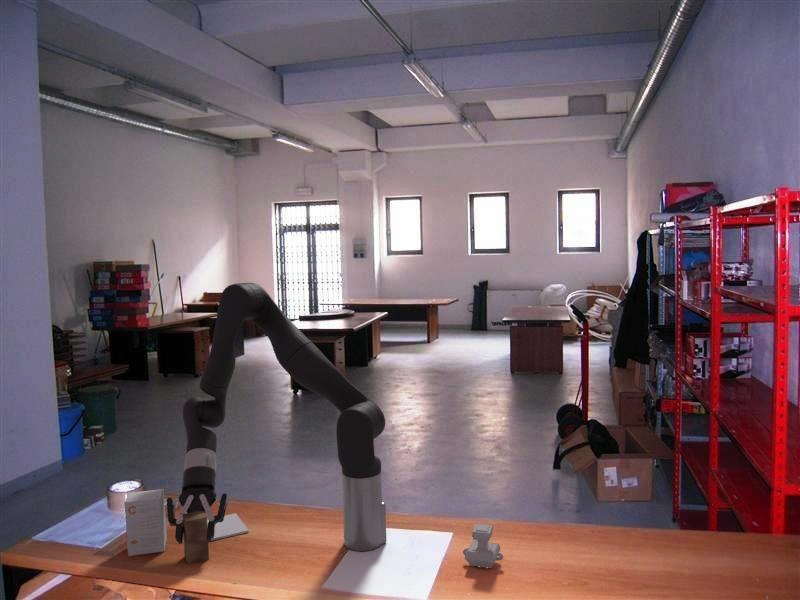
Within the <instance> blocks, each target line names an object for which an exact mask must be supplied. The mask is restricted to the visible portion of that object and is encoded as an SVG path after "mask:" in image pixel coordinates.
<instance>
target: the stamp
mask: <svg viewBox="0 0 800 600" xmlns="http://www.w3.org/2000/svg"><path fill="white" fill-rule="evenodd" d="M493 526H494V525H492V524H482V523H479V524H478V523H475V524H474V526H473V529H472V532H471V533H472V534H471V537H472V539H473V540H472V541H471V543H470V545H469V547H468V548H467V547H466V548H464V549H463V550H462V554H463V556H464V560H465V561H466V562H467V563H468V564H469V565H470V566H471V565H472V566H471V567H474V566H480V567H479V568H481V567H488V568H491V569H492V567H493V566H494V565H495V563H496V562H497V561H502V560H504V555H503V554H502V553H501V552H500V551H501V546H500V543H496V542H489V541H490V539H491V537H492V535H493V531H494V529H493V528H494V527H493ZM488 568H487V569H488Z"/></svg>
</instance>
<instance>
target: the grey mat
mask: <svg viewBox="0 0 800 600" xmlns="http://www.w3.org/2000/svg"><path fill="white" fill-rule="evenodd" d="M208 522H209V520H208V518H207V527H208ZM246 533H249V529H248V527H247V526H246V525H245V523H244V522H243V520H241V518H240V517H239V516H238V514H237V513H236V512H235V513H232V514H231V513H229V514H227V515H225V516H224V520H223V522H218V523H216V524H215V533H214V538H212V539H211V541H208V543H209V542H212V541H216V540H220V539H225V538H226V539H227V538H230V537H234V536H237V535H242V534H246Z"/></svg>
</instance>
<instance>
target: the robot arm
mask: <svg viewBox="0 0 800 600" xmlns="http://www.w3.org/2000/svg"><path fill="white" fill-rule="evenodd" d="M247 320H250V321H252V322H253V323H254V324H255V325H256V326H257V327H258V328H259V329H260V330H261V331H262V332H263V333H264V334H265V336H266V337H267V338H268V339H269V341H270V344H271V347H272V350H273V353H274V356H275V358H276V360H277V362H278V364H280V366H281V367H282V368H283V370H284V371H285V372H287V374H288V375H289V376H290V377H291V378H292V379H293V380H294V381H295V382H296V383H298V384H299V385H300V386H301V387H303V388H305V389H306V390H308V391H310V392H312V393H314V394H316V395H318V396H320V397H321V398H324V399H325V400H326V401H328V402H329V403H331V404H332V405H333V406H334V407H335V408H336V409H337V410H338V411H339V413H340V414H339V416H338V418H337V422H336V428H335V429H336V430H335V431H336V445H337V447H336V448H337V457H338V462H339V464H340V466H341V476H342V477H341V478H342V479H341V480H342V506H343V507H342V509H343V511H342V513H343V519H342V520H343V542H344V546H345V548H347V549H349V550H352V551H357V552H359V551H360V552H365V551H372V550H375V549H377V548H380V547H381V546H382V545H383V544H386V543H387V512H386V511H387V509H386V503H385V502H384V501H383V490H382V487H383V485H382V484H383V483H382V461H381V458H379V457H378V456H376V455H375V443H374V440H375V439H376V438H378V437H379V436H380V435H382V434H383V431H384V430H385V428H386V417H385V414H384V412H383V411H382V409H381V408H380V406H379V405H377V403H376V402H374V401H373V400H372V399H371V398H369V397H368V396H367V395H366V394H365V393H364V392H362V390H360V389H359V388H357V387H356V386H355V385H354V384H353V383H352V382H351V381H350V380H348V378H347V377H345V375H344V374H343V373H342V372H341V371H340V370H339V369H338V368H337V367H336V366H335V365H334V364H333V363H332V362H331V361H330V360H329V359H328V358H327V356H326V355H324V353H323V352H322V351H321V349H319V347H317V345H316V344H314V342H312V341H311V340H310V339H309V338H308V337H307V336H306V335H305V334H304V333H303V332H302V331H301V330H300V329H299V328H298V327H297V326H296V325H295V324H294V323H293V322H292V321H291V320H290V319H289V318H288V317H287V315H286V314H284V312H283V311H282V310H281V308H280V307H279V306H278V304H277V303H276V302H275V301H274V299H273V298H272V297H271V296H270V294H269V293H268V292H267V291H266V290H265V288H263V286H261V285H260V284H257V283H254V282H241V283H232V284H230V285H227V286H226V287H225V288H224V289H223V290H222V293H221V295H220V298H219V301H218V307H217V314H216V319H215V324H214V325H215V326H214V330H213V338H212V340H211V341H212V343H211V346H210V351H209V355H208V358H207V361H206V364H205V367H204V370H203V372H202V375H201V378H200V381H199V390H201V391H202V393H205V394H207V395H209V396H210V397H212V398H214V399H210V398H205V397H204V398H203V397H200V396H199V397H198V396H192V397H189V398H188V399H187V400H186V401H185V402H184V404H183V406H182V419H183V423H184V428H185V432H186V438H187V442H186V454H185V459H184V464H183V473H182V485H181V493H180V495H179V496H178V497H175V498H172V497H168V498H167V499H166V509H167V521H168V523H169V525H170V526H171V527H175V533H174V535H175V536H174V537H175V538H174V539H175V541H176V542H177V543H178V544H179V545H182V544H183V543H184V534H183V516H182V514H186V513H191V512H196V511H203V512H204V513H205V515H206V516H207V519H208V520H209V522H208V527H207V530H208V531H207V541H209V542H212V541H211V539H212V538H214V533H215V524H216V523H218V522H223V520H224V516H226V515H225V514H226V511H227V506H228V503H229V502H228V501H229V499H228V495H227V493H222V494H217V493H216V479H217V478H216V475H217V443H218V442H217V441H218V440H217V439H218V437H217V435H216V433H215V432H214V431H213V430H210V429H207V428H212V429H215V428H218V427H220V426H222V424H223V423H224V421H225V418H226V401H227V394H228V393H227V392H228V388H229V385H230V383H231V380H232V378H233V374H234V371H235V368H236V362H237V361H236V357H237V356H236V340H237V336H238V332H239V331H240V328H241V326H242V324H243V323H244V321H247ZM216 501H217V504H218V505H219V507H218V511H217V514H216V515H214V513H213V512H212V509H211V507H212V506H213V505H214V503H215V502H216ZM178 504H180V505H181V506H182V509H181V510H180V512H179V516H178V517H177V518H176V515H175V509H177V507H178Z"/></svg>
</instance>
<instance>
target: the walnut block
mask: <svg viewBox="0 0 800 600" xmlns="http://www.w3.org/2000/svg"><path fill="white" fill-rule="evenodd" d="M182 516H183V545H184V546H183V550H184V553H183V554H184V558H185V561H186V563H187V565H188V564H189V565H192V564H193V565H194V564H196V563H197V564H198V563H201V562H205V561H209V560H210V554H209V551H210V550H209V542H208V541H207V531H208V530H207V519H208V517H207V515H206V513H204V512H203V511H196V512H191V513H186V514H182Z"/></svg>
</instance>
